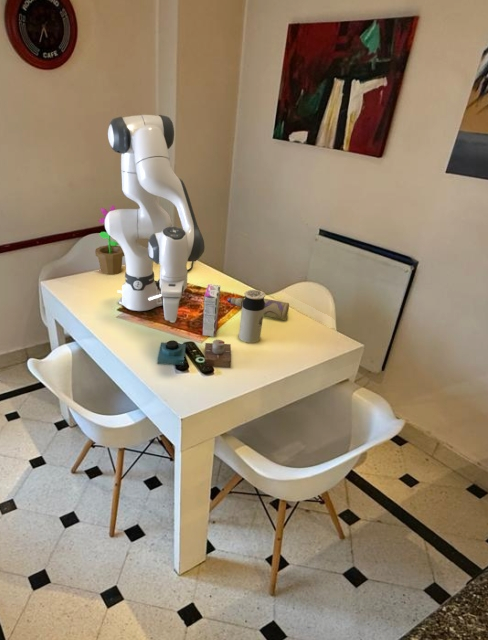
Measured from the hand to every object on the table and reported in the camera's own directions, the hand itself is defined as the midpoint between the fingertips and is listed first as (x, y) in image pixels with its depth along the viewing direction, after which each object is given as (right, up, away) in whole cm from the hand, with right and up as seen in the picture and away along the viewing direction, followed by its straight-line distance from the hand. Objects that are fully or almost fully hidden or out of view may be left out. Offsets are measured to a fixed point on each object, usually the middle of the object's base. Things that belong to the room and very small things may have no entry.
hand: (172, 320), depth 154 cm
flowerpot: (-30, +36, +73) cm, 87 cm away
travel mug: (+29, -4, +20) cm, 35 cm away
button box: (0, -11, +8) cm, 14 cm away
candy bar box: (+15, 0, +25) cm, 29 cm away
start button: (0, -8, +6) cm, 11 cm away
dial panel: (+16, -12, +7) cm, 21 cm away
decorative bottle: (+36, +9, +37) cm, 53 cm away
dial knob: (+16, -10, +6) cm, 19 cm away
